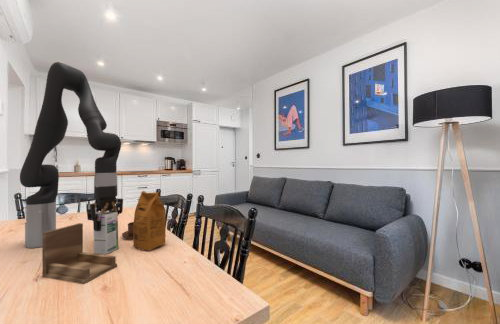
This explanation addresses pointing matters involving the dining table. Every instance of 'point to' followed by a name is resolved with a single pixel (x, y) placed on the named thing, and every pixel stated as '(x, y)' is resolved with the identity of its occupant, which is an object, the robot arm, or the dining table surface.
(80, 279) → the small wooden shelf
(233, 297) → the dining table surface
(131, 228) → the cup and saucer
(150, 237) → the coffee package
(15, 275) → the dining table surface
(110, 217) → the syrup box
